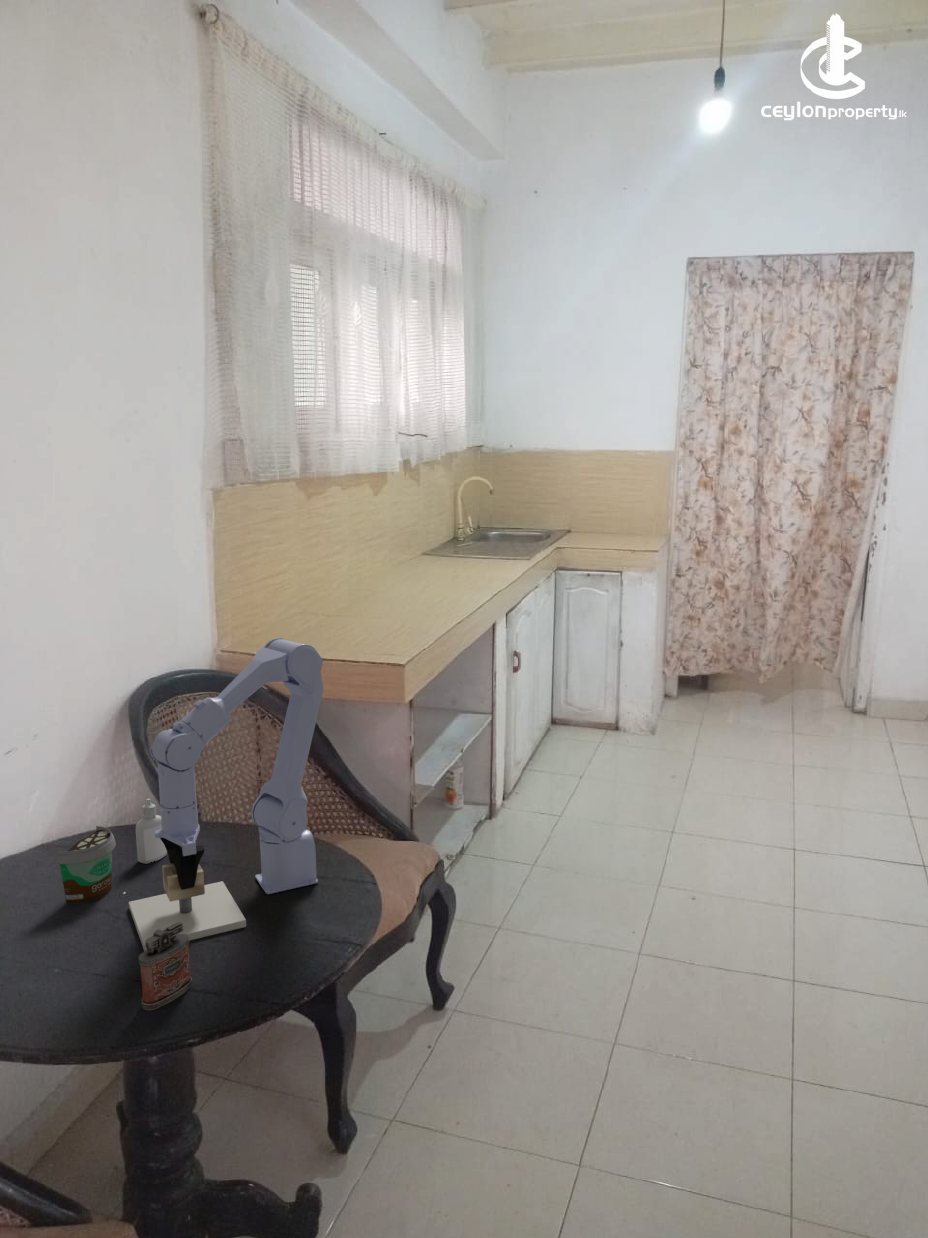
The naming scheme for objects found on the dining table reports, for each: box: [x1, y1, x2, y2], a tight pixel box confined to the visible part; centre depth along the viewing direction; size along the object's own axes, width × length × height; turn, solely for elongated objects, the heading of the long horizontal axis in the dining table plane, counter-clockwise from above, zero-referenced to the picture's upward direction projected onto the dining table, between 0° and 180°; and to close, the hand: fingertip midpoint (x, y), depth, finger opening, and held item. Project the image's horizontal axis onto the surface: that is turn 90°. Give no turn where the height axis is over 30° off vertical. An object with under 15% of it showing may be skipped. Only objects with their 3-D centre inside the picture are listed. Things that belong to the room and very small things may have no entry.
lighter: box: [137, 922, 193, 1011], centre depth 132 cm, size 8×3×10 cm, turn 148°
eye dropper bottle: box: [135, 798, 168, 865], centre depth 177 cm, size 4×6×12 cm
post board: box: [128, 881, 247, 952], centre depth 154 cm, size 16×16×5 cm
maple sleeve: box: [161, 863, 205, 902], centre depth 154 cm, size 6×6×4 cm
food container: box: [56, 825, 117, 905], centre depth 163 cm, size 12×6×10 cm, turn 168°
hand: (183, 880), depth 154 cm, fingers closed on maple sleeve, 6 cm apart
